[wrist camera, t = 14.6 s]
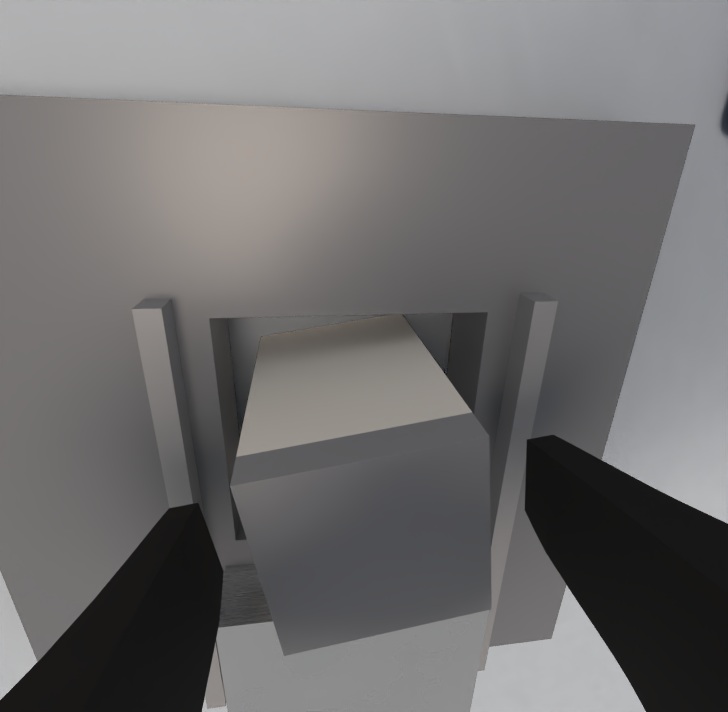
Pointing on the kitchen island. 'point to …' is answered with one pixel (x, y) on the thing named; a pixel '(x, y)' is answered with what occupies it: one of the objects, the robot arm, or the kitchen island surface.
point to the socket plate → (296, 307)
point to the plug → (361, 485)
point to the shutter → (342, 662)
